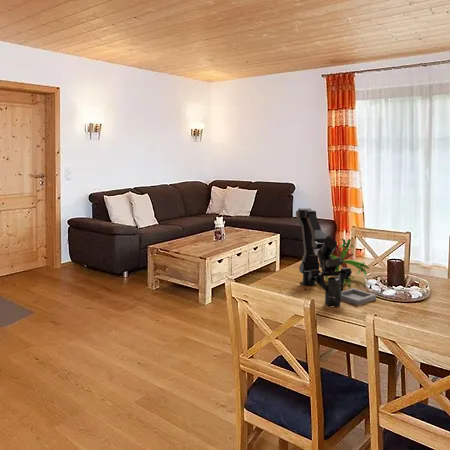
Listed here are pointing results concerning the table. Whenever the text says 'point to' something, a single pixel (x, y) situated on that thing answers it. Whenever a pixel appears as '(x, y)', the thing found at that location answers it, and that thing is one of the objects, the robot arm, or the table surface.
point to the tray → (357, 296)
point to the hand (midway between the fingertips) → (334, 291)
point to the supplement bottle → (333, 292)
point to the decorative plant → (347, 256)
